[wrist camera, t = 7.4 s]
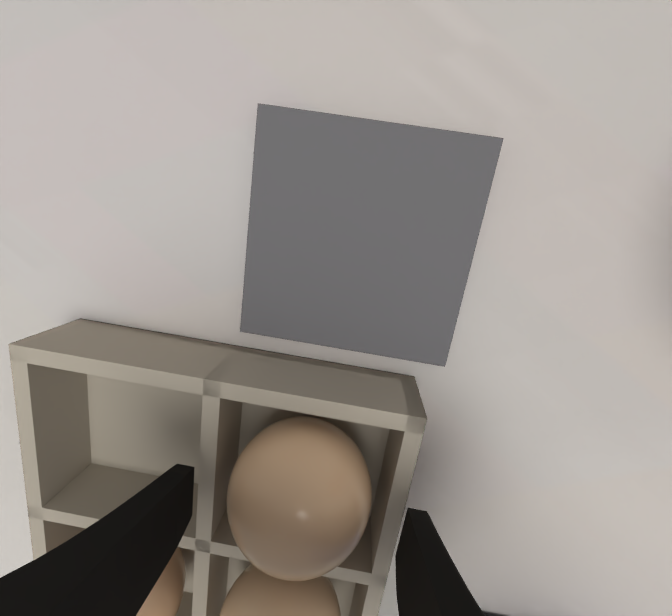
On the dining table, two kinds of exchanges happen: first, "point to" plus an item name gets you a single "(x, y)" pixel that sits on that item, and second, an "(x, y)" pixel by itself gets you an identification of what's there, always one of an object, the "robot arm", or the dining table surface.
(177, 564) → the seated egg
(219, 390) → the egg tray
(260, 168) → the slate coaster
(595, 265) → the dining table surface
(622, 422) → the dining table surface
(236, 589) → the seated egg
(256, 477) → the loose egg
